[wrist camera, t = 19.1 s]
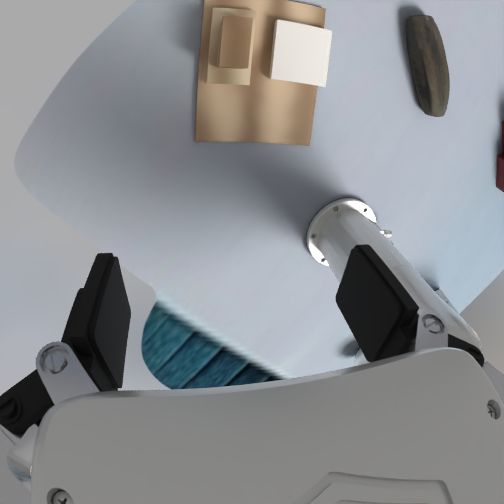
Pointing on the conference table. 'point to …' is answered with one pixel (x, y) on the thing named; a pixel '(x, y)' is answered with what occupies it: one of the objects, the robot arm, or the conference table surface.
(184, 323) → the conference table surface
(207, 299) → the conference table surface
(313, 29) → the tile
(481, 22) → the conference table surface
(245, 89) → the cork mat
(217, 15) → the wooden float
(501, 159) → the toy houses
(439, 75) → the decorative stone
